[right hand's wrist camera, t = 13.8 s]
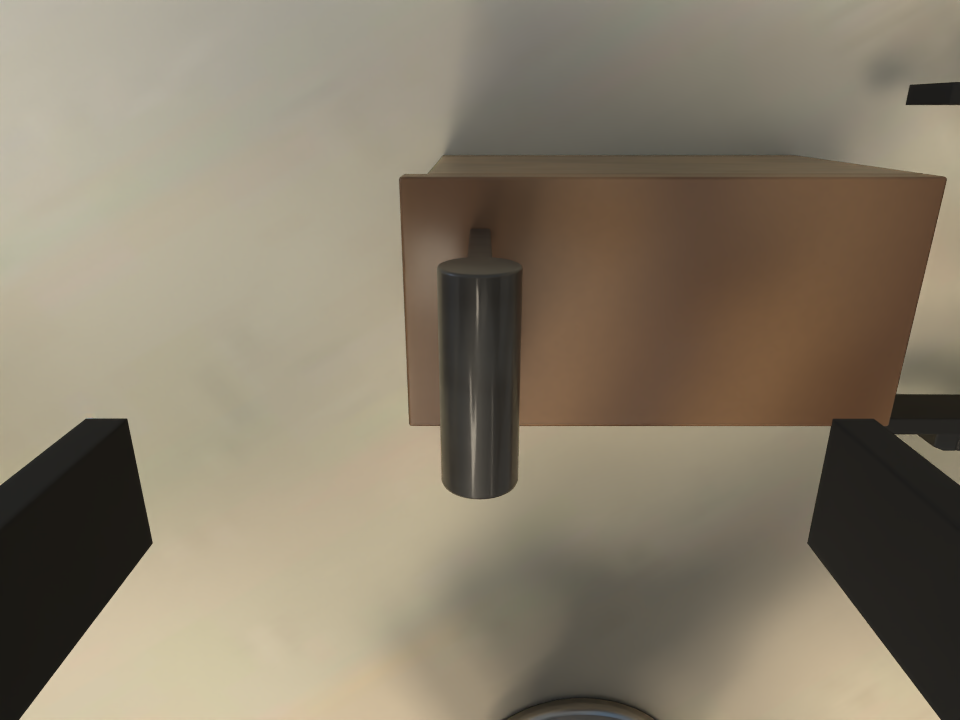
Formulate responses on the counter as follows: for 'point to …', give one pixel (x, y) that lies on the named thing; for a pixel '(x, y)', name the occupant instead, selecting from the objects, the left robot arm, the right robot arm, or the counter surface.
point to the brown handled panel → (653, 303)
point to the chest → (648, 165)
